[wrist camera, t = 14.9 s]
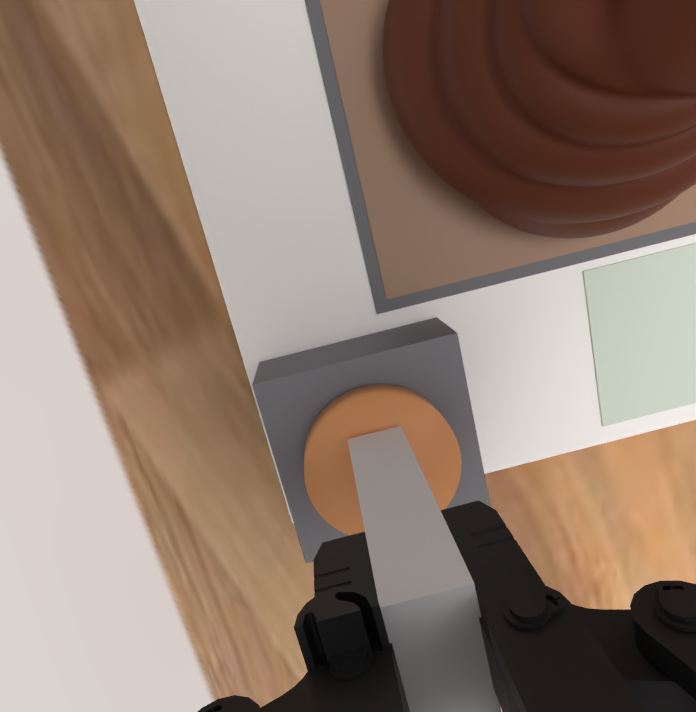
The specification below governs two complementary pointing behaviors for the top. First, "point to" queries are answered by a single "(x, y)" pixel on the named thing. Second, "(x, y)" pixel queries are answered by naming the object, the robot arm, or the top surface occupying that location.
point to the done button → (368, 415)
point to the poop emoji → (549, 105)
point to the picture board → (403, 256)
